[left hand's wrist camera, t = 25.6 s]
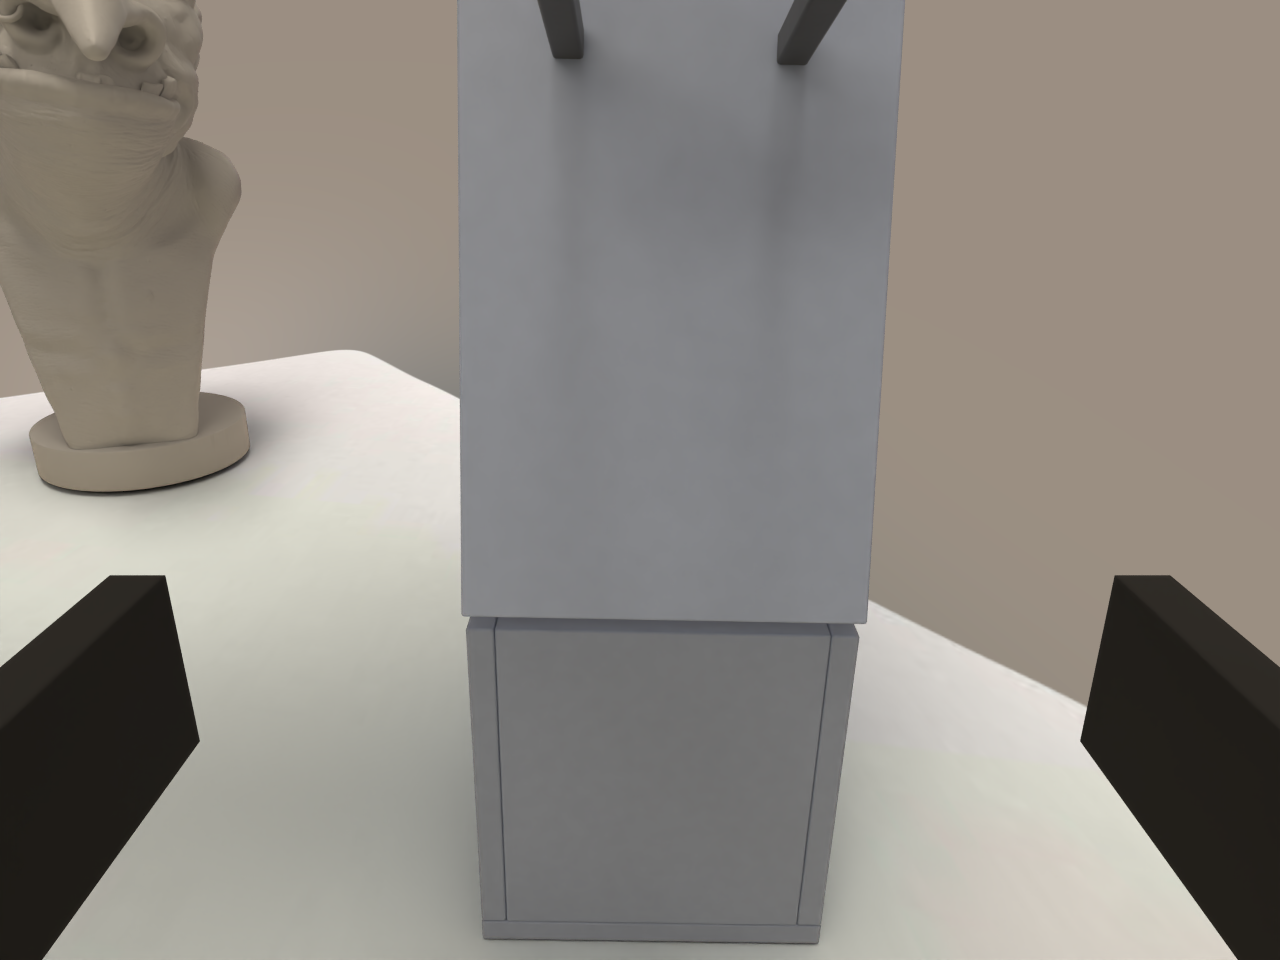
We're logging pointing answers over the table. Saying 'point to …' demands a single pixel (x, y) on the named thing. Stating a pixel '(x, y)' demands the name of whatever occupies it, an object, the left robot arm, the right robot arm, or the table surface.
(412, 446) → the table surface
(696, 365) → the lid
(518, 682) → the chest
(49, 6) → the bust sculpture
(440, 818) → the table surface
